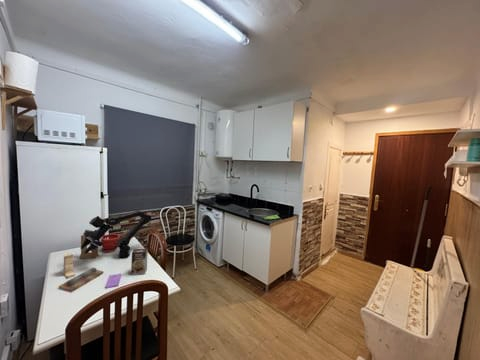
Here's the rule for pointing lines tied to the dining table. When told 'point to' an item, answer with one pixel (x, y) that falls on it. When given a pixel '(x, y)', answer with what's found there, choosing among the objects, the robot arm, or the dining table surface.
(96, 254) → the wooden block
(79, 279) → the stand
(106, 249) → the plant pot
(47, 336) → the dining table surface
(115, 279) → the sponges
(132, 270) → the coffee box
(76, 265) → the dining table surface
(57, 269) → the dining table surface
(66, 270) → the oak T piece
